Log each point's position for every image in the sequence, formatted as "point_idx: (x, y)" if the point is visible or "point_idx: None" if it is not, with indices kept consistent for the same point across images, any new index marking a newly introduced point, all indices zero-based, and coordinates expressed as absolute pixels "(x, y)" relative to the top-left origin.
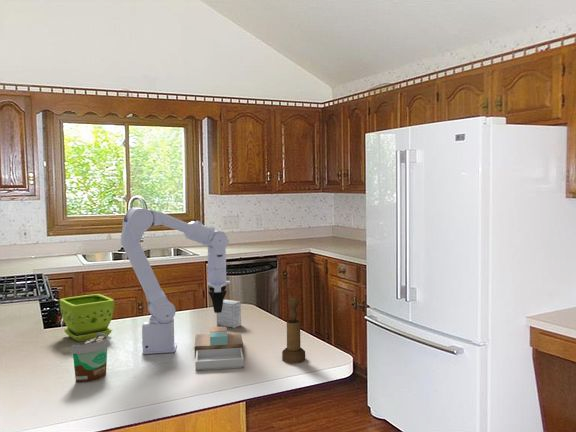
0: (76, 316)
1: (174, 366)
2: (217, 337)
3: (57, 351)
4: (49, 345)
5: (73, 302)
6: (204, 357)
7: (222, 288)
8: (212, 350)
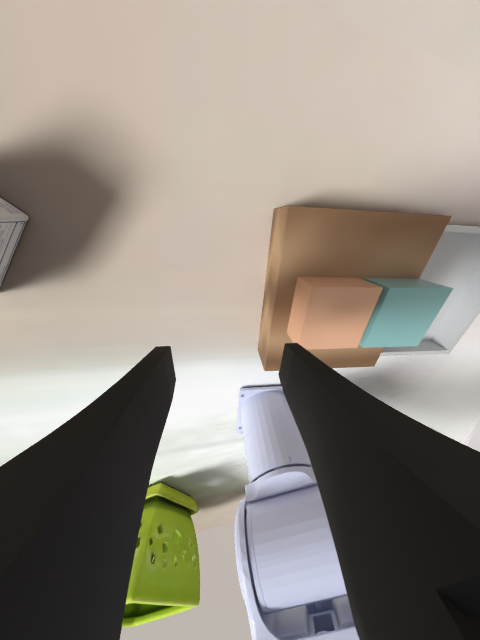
0: (198, 566)
1: (377, 375)
2: (428, 322)
3: (231, 499)
4: (201, 510)
5: None
6: None
7: (13, 638)
8: None
